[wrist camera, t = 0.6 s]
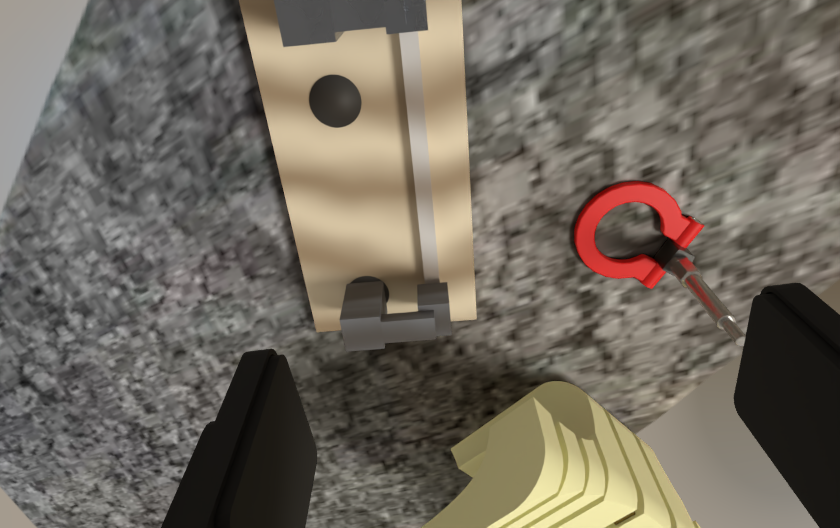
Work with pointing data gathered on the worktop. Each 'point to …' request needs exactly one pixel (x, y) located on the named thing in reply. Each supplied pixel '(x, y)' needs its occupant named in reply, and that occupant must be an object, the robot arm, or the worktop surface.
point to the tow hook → (667, 259)
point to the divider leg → (345, 18)
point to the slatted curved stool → (560, 470)
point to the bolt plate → (374, 172)
